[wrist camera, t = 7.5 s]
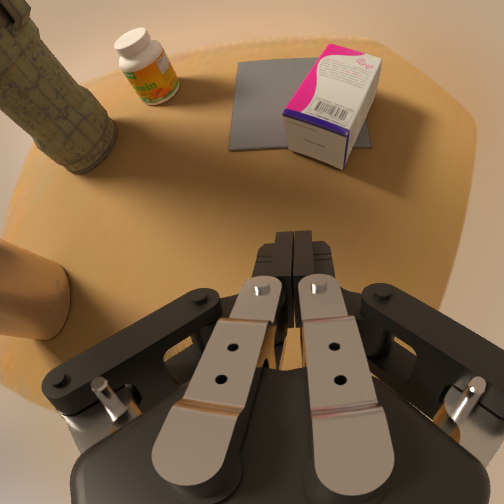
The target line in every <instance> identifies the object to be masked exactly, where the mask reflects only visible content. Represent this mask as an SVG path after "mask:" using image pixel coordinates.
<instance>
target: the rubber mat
mask: <svg viewBox="0 0 504 504" xmlns="http://www.w3.org/2000/svg"><path fill="white" fill-rule="evenodd" d="M318 59H319V58H291V59H273V60H260V61H249V62H240V63H238V69H237V78H236V86H235V95H234V104H233V113H232V122H231V132H230V141H229V151H237V150H252V149H271V148H288V145H287V139H286V133H285V126H284V121H283V117H282V112H283V110H284V109H285V107H286V106H287V104H288V103H289V101H290V100H291V98H292V97H293V95H294V94H295V92H296V91H297V89H298V88H299V86H300V85H301V83H302V82H303V80H304V79H305V77H306V76H307V75H308V73H309V72H310V70H311V69H312V67H313V66H314V64H315V63H316V61H317V60H318ZM353 147H357V148H371V142H370V137H369V131H368V127H367V122H366V119H365V121H364V123H363V126H362V128H361V130H360V133H359V135H358V137H357V139H356V141H355V144H354V146H353Z"/></svg>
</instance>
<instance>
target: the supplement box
mask: <svg viewBox="0 0 504 504" xmlns="http://www.w3.org/2000/svg"><path fill="white" fill-rule="evenodd" d="M381 65H382V59H381V58H378V57H375V56H372V55H369V54H365V53H362V52H359V51H355V50H352V49H349V48H345V47H341V46H338V45H334V44H328V46H327V47H326V48H325V50H324V51H323V53H322V54H321V56H320V57H319V59H318V60H317V61H316V63H315V64H314V66H313V67H312V69H311V70H310V72H309V73H308V75H307V76H306V77H305V79H304V80H303V82H302V83H301V85H300V86H299V88H298V89H297V91H296V92H295V94H294V95H293V97H292V98H291V100H290V101H289V103H288V104H287V106H286V107H285V109H284V110H283V112H282V117H283V121H284V126H285V133H286V139H287V145H288V149H289V150H291V151H294V152H297V153H301V154H304V155H306V156H309V157H312V158H314V159H317V160H320V161H322V162H325V163H327V164H330V165H332V166H334V167H336V168H339V169H341V170H343V169H344V166H345V164H346V162H347V159H348V157H349V155H350V153H351V150H352V148H353V146H354V144H355V141H356V139H357V137H358V135H359V133H360V130H361V128H362V126H363V123H364V121H365V119H366V116H367V114H368V112H369V110H370V107H371V105H372V103H373V100H374V98H375V95H376V90H377V86H378V81H379V76H380V71H381Z"/></svg>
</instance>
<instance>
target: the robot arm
mask: <svg viewBox="0 0 504 504" xmlns="http://www.w3.org/2000/svg"><path fill="white" fill-rule="evenodd" d="M69 306H70V286H69V282H68V278H67V275H66V273H65V271H64V270H63V268H62V267H61V266H60V265H59V264H58V263H56V262H54V261H51V260H49V259H46V258H44V257H42V256H39V255H37V254H34V253H32V252H30V251H28V250H25V249H23V248H20V247H18V246H16V245H13V244H11V243H9V242H7V241H4V240H2V239H0V335H7V336H14V337H21V338H30V339H40V340H48V339H50V338H53V337H54V336H55V335H56V334H58V333H59V331H60V330H61V329H62V327H63V325H64V323H65V321H66V318H67V315H68V312H69ZM294 314H295V324H296V328H300V345H301V359H302V368H298V369H293V370H288V371H282V370H281V369H282V363H283V358H284V353H285V348H286V336H287V330H288V328H294ZM189 336H191V339H192V342H193V344H192V345H190V346H189V347H187V348H186V349H184V350H183V351H181V352H180V353H178V354H176V355H175V356H173V357H172V358H170V359H169V360H167V361H165V362H164V361H163V357H164V354H165V353H166V351H167V350H168V349H170V348H171V347H173V346H174V345H176V344H178V343H179V342H181V341H182V340H184V339H186V338H187V337H189ZM395 336H396V337H397V338H399V339H400V340H402V341H403V342H405V343H406V344H408V345H409V346H411V347H412V348H413V349H414V351H415V352H416V355H417V356H415V355H414V354H413V353H411V352H410V351H408V350H407V349H405V348H404V347H402V346H401V345H399V344H398V343H396V342H395V341H394V337H395ZM370 372H371V373H372V374H374V375H375V376H376V377H378V378H379V379H380V380H379V379H377V378H375V377H373V376H371V373H370ZM42 392H43V394H44V395H45V396H46V397H47V399H48V400H49V401H50V402H51V403H52V405H53V406H54V407H55V408H56V410H57V412H58V413H59V414H60V415H61V416H62V418H63V419H64V420H65V421H66V423H67V425H68V428H69V430H70V432H71V434H72V436H73V439H74V441H75V443H76V445H77V447H78V449H79V451H80V453H81V455H80V456H79V458H78V459H77V461H76V463H75V464H74V466H73V469H72V472H71V476H70V491H71V504H488V503H489V498H490V481H489V477H488V473H487V471H486V469H485V468H486V467H487V465H488V463H489V462H490V461H491V459H492V458H493V456H494V455H495V453H496V452H497V450H498V449H499V447H500V445H501V444H502V442H503V440H504V350H503V349H501V348H499V347H498V346H496V345H494V344H493V343H491V342H490V341H488V340H486V339H485V338H483V337H481V336H480V335H478V334H476V333H475V332H473V331H471V330H470V329H468V328H466V327H465V326H463V325H461V324H459V323H458V322H456V321H454V320H453V319H451V318H449V317H447V316H446V315H444V314H442V313H441V312H439V311H437V310H435V309H434V308H432V307H430V306H428V305H427V304H425V303H423V302H421V301H420V300H418V299H416V298H414V297H412V296H411V295H409V294H407V293H405V292H404V291H402V290H400V289H398V288H396V287H394V286H392V285H389V284H385V283H375V284H371V285H369V286H367V287H365V288H364V289H363V291H362V294H360V293H354V292H350V291H347V290H345V289H343V288H341V287H340V286H339V283H338V281H337V280H336V279H335V273H334V267H333V261H332V255H331V250H330V246H329V245H328V244H327V243H325V242H324V241H316V242H312V233H311V231H295V236H294V232H293V231H291V232H277V233H276V239H275V243H270V244H264V245H263V246H262V247H261V248H260V249H259V250H258V254H257V258H256V263H255V266H254V270H253V274H252V278H251V279H249V280H247V281H246V282H245V283H244V284H243V285H242V288H241V290H240V292H239V294H236V295H233V296H229V297H225V298H220V297H219V294H218V292H217V291H215V290H213V289H210V288H200V289H195V290H192V291H190V292H188V293H186V294H185V295H183V296H181V297H179V298H178V299H176V300H174V301H172V302H170V303H169V304H167V305H165V306H163V307H162V308H160V309H158V310H156V311H155V312H153V313H151V314H149V315H148V316H146V317H144V318H142V319H141V320H139V321H137V322H135V323H134V324H132V325H130V326H128V327H127V328H125V329H123V330H121V331H119V332H118V333H116V334H114V335H112V336H111V337H109V338H107V339H105V340H104V341H102V342H100V343H98V344H97V345H95V346H93V347H91V348H89V349H88V350H86V351H84V352H82V353H81V354H79V355H77V356H75V357H74V358H72V359H70V360H68V361H67V362H65V363H63V364H61V365H59V366H58V367H56V368H54V369H53V370H51V371H50V372H49V373H48V374H47V375H46V376H45V378H44V380H43V382H42ZM404 398H405V399H404ZM409 402H410V403H411V404H410V403H409ZM413 405H414V406H415V407H416V408H417V409H416V408H415V407H414V406H413ZM418 409H419V410H420V411H422V412H423V413H424V414H425V415H427V416H428V417H429V418H431V419H432V420H433V422H432V421H431V420H430V419H428V418H427V417H426V416H425V415H424V414H422V413H421V412H420V411H419V410H418Z"/></svg>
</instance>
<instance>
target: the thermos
mask: <svg viewBox="0 0 504 504" xmlns="http://www.w3.org/2000/svg"><path fill="white" fill-rule="evenodd" d="M30 10H31V7H30V6H29V5H28V4H27V2H26V1H25V0H0V110H1V111H2V112H4V113H5V114H6V115H7V116H8V117H9V118H10V119H12V120H13V121H14V122H15V123H16V124H17V125H19V126H20V127H21V128H22V129H23V130H25V131H26V132H27V133H28V134H29V135H30V136H32V138H33V140H34V142H35V144H36V146H37V148H38V149H40V150H41V151H42V152H43V153H45V154H46V155H47V156H48V157H50V158H51V159H52V160H53V161H55V162H56V163H57V164H60V165H62V166H64V167H65V168H66V169H67V170H68V171H69V172H71V173H73V174H83V173H85V172H88V171H90V170H91V169H93V168H94V167H96V166H97V165H99V163H100V162H101V161H102V160H103V159H104V158H105V157H106V156H107V155H108V153H109V152H110V150H111V149H112V147H113V145H114V143H115V140H116V137H117V127H116V124H115V123H114V121H112V120H111V119H110V118H109V116H108V114H107V111H106V110H105V109H104V108H103V106H102V105H101V104H100V103H99V101H98V100H97V99H96V98H95V97H94V95H93V94H92V93H91V92H90V91H89V90H88V89H86V88H84V87H82V86H80V85H78V84H77V83H76V81H75V80H74V79H73V78H72V77H71V75H70V74H69V73H68V72H67V71H66V70H65V68H64V67H63V66H62V65H61V63H60V62H59V61H58V60H57V59H56V57H54V55H53V54H52V53H51V51H50V50H49V49H48V48H47V47H46V45H45V44H44V43H43V41H42V40H41V39H40V35H39V29H38V28H37V26H36V25H35V24H34V23H33V21H32V20H31V19H30V17H29V15H30Z"/></svg>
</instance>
